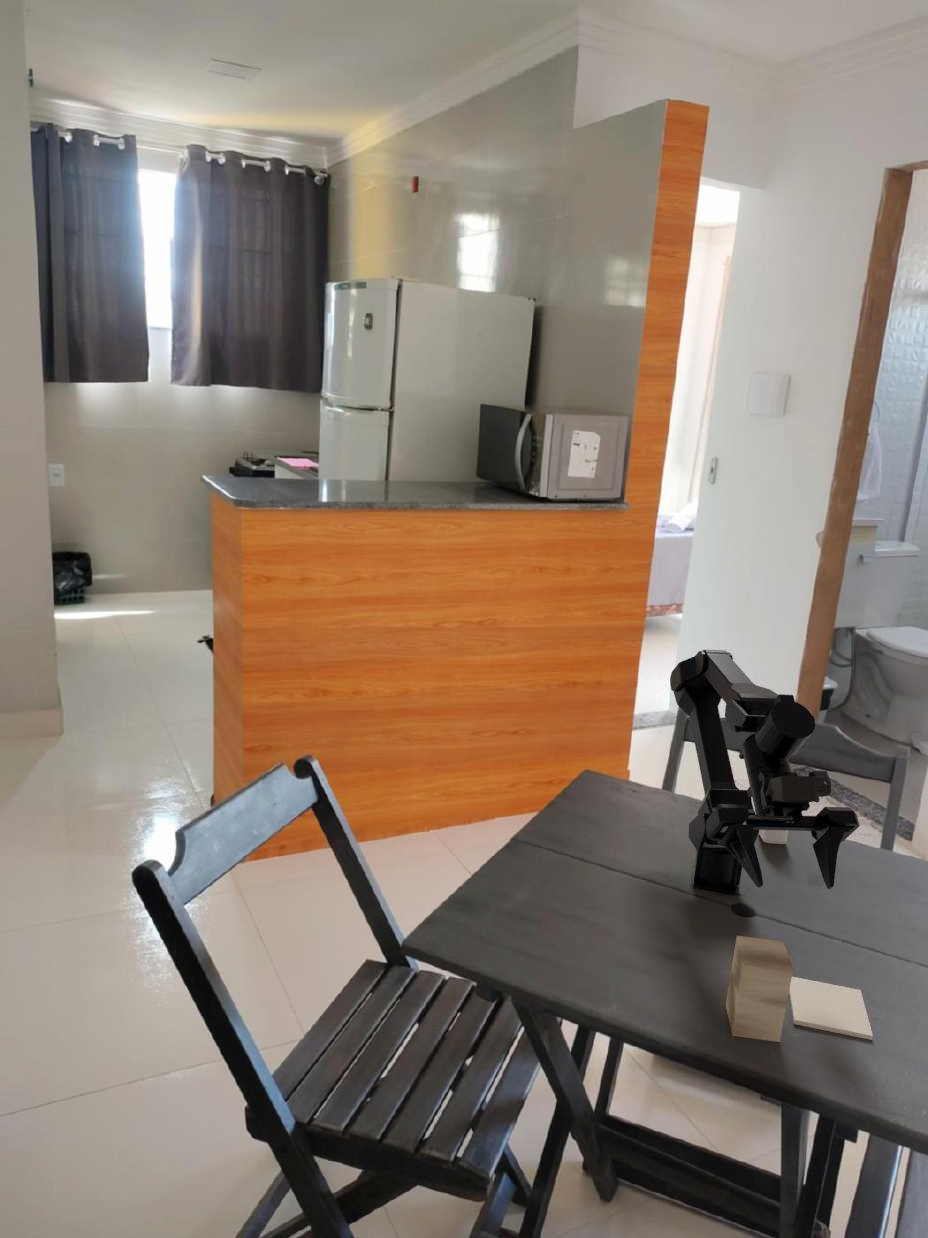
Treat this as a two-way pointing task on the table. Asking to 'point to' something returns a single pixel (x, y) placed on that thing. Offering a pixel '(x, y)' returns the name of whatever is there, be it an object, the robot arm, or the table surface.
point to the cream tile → (829, 1008)
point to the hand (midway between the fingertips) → (795, 887)
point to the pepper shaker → (774, 836)
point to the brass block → (758, 988)
